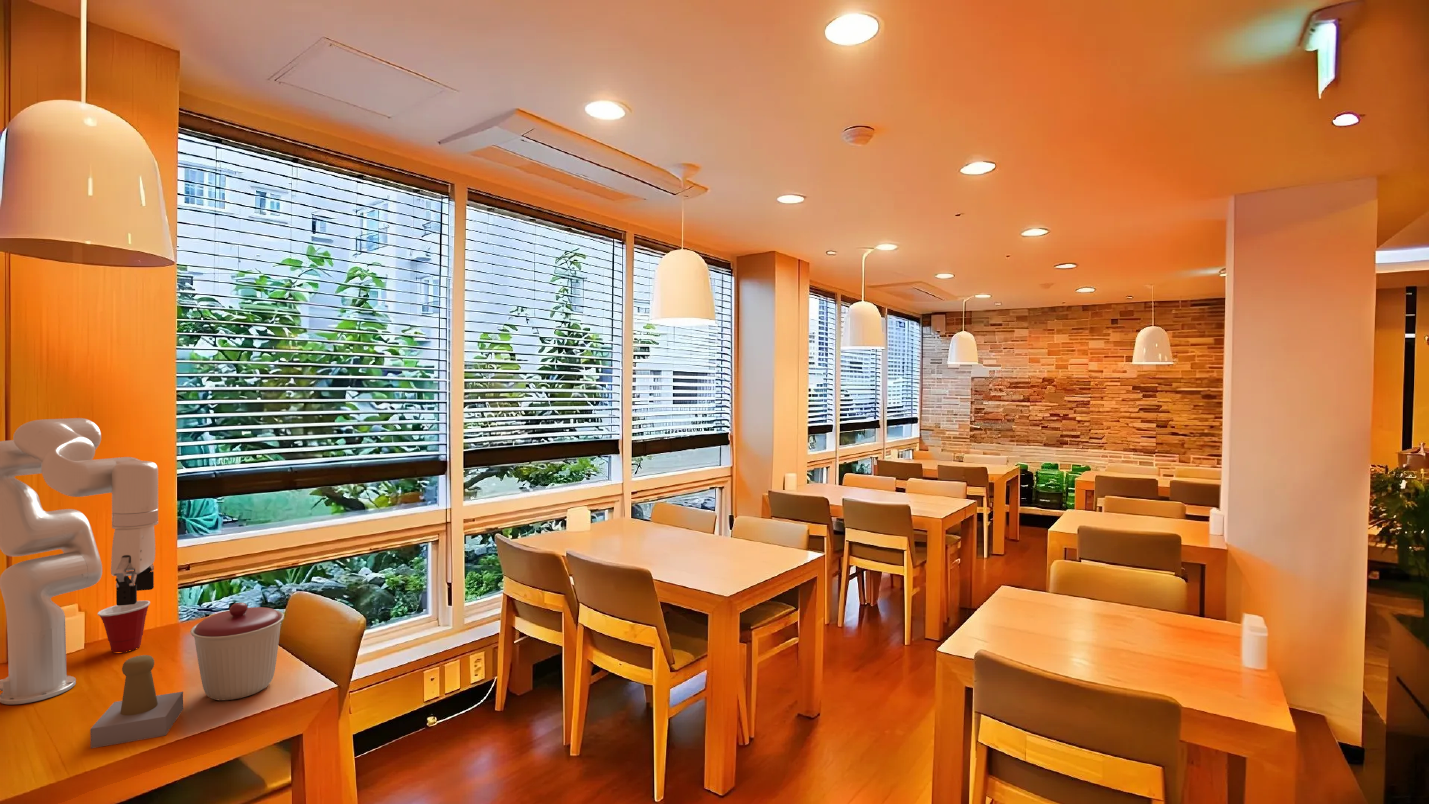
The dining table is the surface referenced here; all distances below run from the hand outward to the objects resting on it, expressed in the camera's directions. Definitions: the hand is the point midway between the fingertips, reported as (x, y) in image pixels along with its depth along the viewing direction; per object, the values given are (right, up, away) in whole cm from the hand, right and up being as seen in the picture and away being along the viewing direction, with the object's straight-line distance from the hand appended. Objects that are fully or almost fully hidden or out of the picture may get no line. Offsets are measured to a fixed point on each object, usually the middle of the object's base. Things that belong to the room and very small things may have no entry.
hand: (135, 596), depth 143 cm
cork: (+3, -23, -2) cm, 24 cm away
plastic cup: (-35, -25, +37) cm, 57 cm away
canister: (+12, -27, +15) cm, 33 cm away
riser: (+3, -27, -2) cm, 27 cm away
